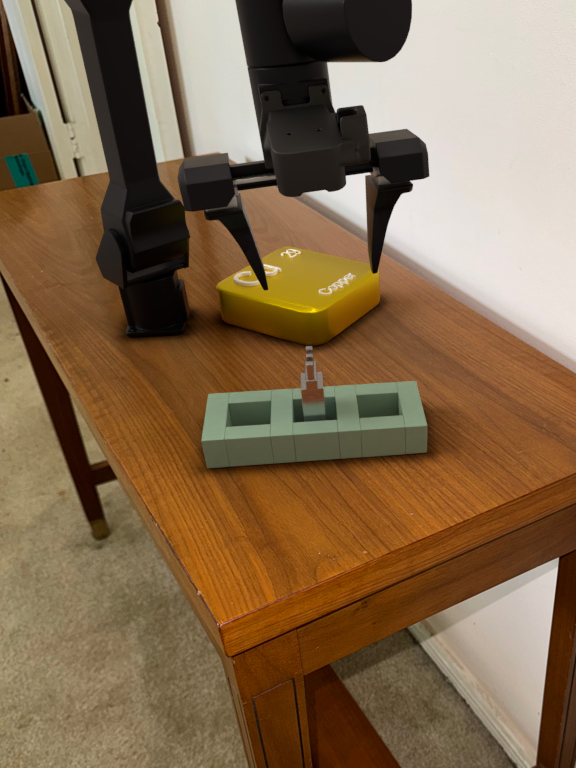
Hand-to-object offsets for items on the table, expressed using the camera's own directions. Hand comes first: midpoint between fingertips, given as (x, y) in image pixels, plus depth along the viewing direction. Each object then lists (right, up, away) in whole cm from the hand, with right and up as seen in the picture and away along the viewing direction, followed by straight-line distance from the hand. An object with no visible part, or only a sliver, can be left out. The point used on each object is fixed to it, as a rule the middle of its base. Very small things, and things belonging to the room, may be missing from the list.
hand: (320, 280), depth 64 cm
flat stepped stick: (-1, -12, +9) cm, 15 cm away
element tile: (-5, +6, +29) cm, 30 cm away
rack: (-1, -12, +9) cm, 15 cm away
